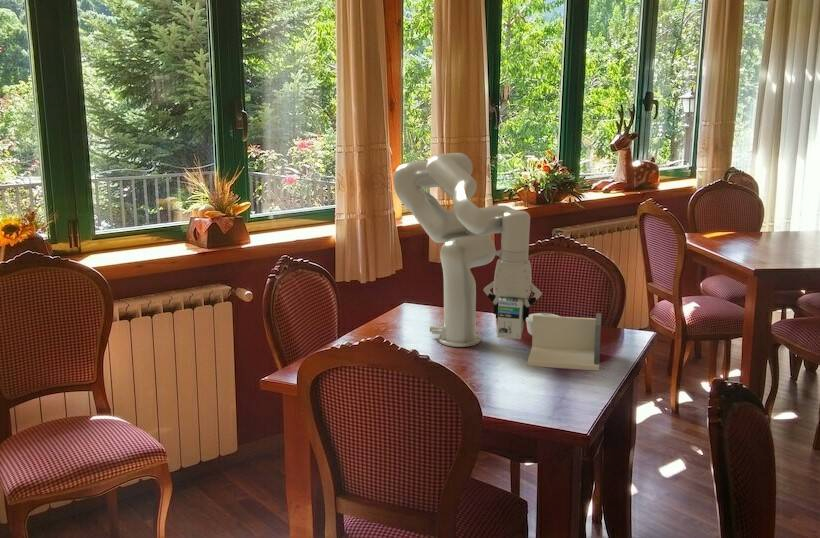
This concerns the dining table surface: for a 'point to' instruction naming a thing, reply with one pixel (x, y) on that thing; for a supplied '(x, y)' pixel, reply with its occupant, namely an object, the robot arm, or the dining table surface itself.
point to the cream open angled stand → (563, 342)
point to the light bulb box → (510, 318)
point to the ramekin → (530, 321)
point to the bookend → (597, 338)
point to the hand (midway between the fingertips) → (511, 317)
